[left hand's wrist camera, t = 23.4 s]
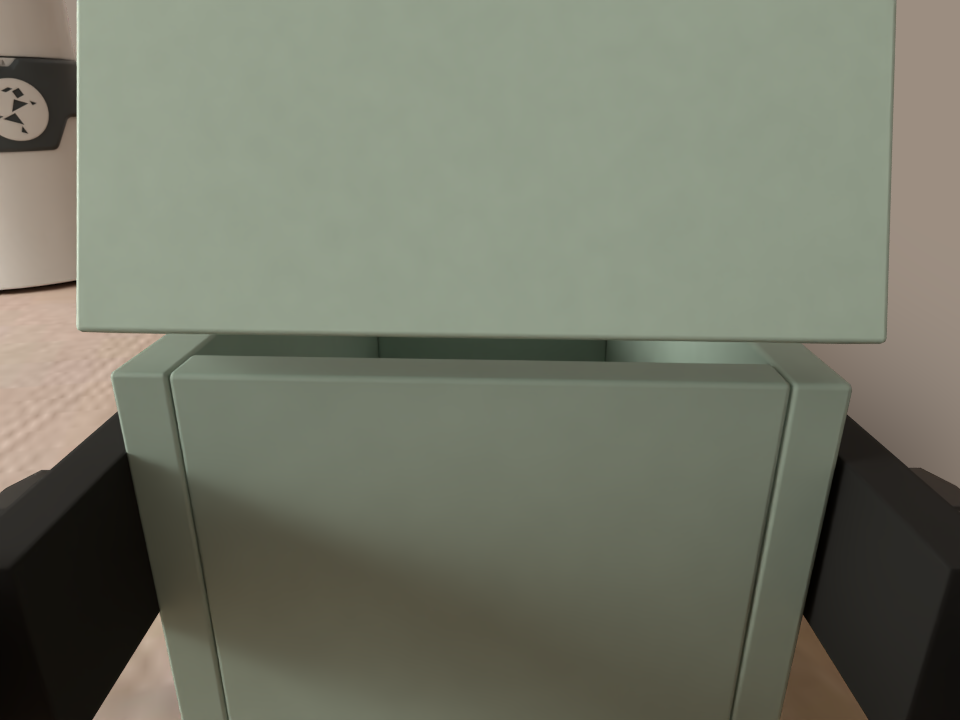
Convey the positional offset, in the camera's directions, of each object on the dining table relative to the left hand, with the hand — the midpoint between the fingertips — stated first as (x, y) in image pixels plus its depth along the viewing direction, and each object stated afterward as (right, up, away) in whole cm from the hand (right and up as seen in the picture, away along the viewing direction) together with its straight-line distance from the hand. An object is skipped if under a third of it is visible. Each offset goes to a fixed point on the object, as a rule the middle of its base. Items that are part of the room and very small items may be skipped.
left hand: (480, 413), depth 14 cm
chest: (0, -4, +5) cm, 7 cm away
